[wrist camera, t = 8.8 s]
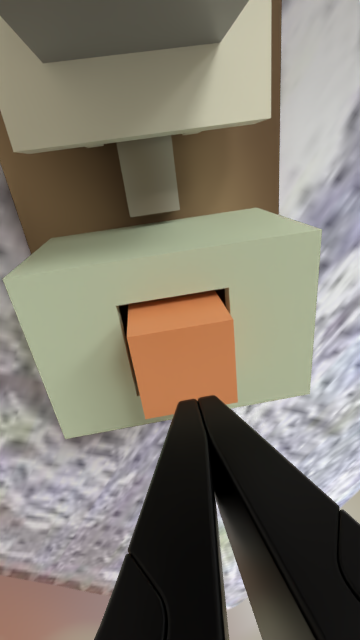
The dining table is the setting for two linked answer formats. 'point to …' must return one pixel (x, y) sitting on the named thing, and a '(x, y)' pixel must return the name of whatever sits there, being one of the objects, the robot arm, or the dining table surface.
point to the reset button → (182, 351)
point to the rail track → (149, 176)
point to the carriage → (130, 69)
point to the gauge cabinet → (161, 282)
